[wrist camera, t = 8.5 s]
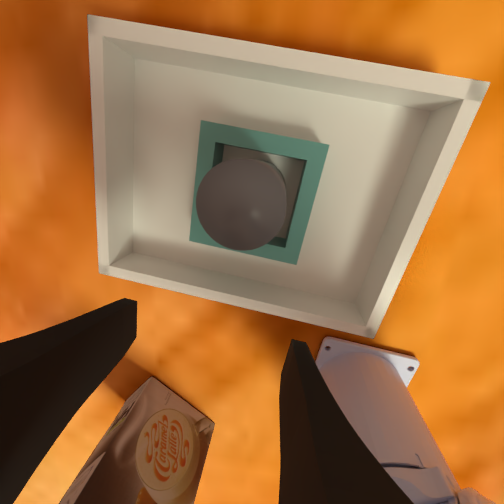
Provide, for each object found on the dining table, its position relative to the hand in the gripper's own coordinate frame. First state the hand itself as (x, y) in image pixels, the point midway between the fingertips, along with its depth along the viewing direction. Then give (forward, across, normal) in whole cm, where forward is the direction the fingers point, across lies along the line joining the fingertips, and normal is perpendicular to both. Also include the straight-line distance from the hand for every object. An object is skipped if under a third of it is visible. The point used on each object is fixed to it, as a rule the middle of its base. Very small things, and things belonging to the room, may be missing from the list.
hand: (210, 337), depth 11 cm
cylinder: (+9, 0, -6) cm, 11 cm away
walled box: (+9, 0, -6) cm, 11 cm away
